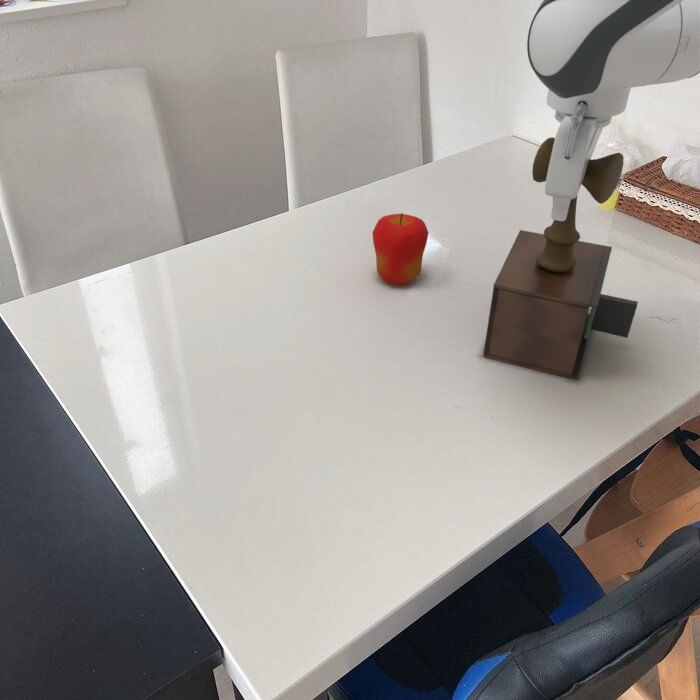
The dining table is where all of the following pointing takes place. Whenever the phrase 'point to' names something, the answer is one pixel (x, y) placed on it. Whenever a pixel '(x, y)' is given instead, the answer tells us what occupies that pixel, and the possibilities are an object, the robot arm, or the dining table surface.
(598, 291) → the cabinet
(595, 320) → the door
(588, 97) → the robot arm
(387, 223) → the apple
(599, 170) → the kendama
